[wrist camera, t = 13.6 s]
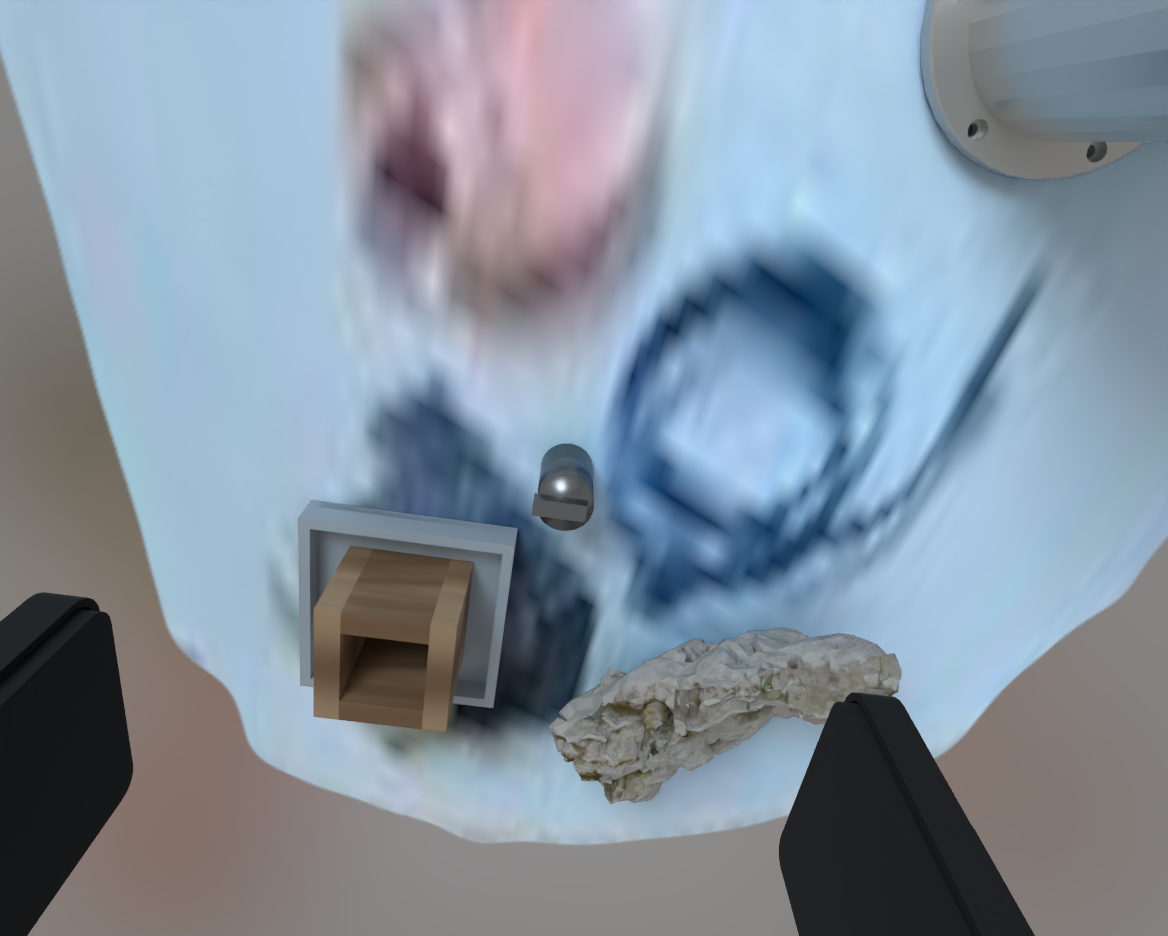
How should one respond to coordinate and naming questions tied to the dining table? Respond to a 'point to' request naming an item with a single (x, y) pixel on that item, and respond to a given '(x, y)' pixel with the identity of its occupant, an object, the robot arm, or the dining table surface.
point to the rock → (710, 703)
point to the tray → (486, 545)
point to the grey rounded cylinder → (565, 488)
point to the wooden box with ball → (391, 638)
